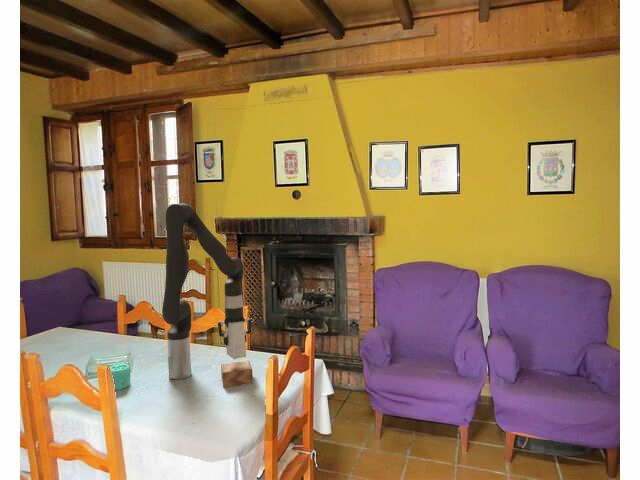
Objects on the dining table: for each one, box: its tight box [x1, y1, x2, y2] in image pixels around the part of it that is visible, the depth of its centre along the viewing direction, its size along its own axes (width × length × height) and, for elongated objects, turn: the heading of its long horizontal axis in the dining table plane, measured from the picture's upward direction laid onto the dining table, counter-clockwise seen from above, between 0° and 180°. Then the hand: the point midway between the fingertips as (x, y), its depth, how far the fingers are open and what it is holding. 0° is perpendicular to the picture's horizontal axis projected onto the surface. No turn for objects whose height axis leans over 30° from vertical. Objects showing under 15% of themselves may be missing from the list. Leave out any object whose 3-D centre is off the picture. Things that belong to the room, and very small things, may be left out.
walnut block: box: [220, 360, 254, 388], centre depth 177 cm, size 12×10×6 cm
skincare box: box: [224, 321, 247, 360], centre depth 176 cm, size 8×6×15 cm
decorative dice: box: [109, 363, 131, 391], centre depth 174 cm, size 8×8×8 cm
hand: (235, 344), depth 176 cm, fingers closed on skincare box, 6 cm apart
